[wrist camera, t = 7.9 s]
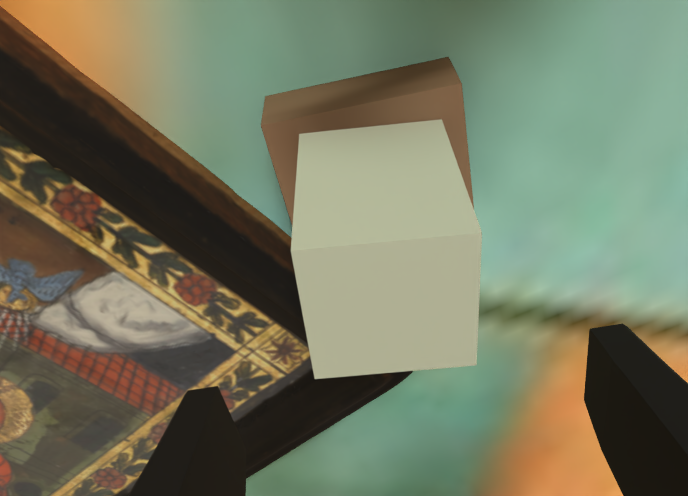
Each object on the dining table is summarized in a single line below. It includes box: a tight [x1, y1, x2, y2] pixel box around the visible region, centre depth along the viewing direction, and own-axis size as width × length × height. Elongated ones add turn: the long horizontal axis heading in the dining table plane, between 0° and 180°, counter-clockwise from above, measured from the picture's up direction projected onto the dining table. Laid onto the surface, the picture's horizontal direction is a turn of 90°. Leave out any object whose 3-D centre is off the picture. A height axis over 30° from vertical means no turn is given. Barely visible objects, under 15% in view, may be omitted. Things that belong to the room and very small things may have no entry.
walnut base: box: [261, 57, 474, 226], centre depth 20 cm, size 6×6×2 cm
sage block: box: [291, 119, 482, 379], centre depth 16 cm, size 4×4×6 cm
